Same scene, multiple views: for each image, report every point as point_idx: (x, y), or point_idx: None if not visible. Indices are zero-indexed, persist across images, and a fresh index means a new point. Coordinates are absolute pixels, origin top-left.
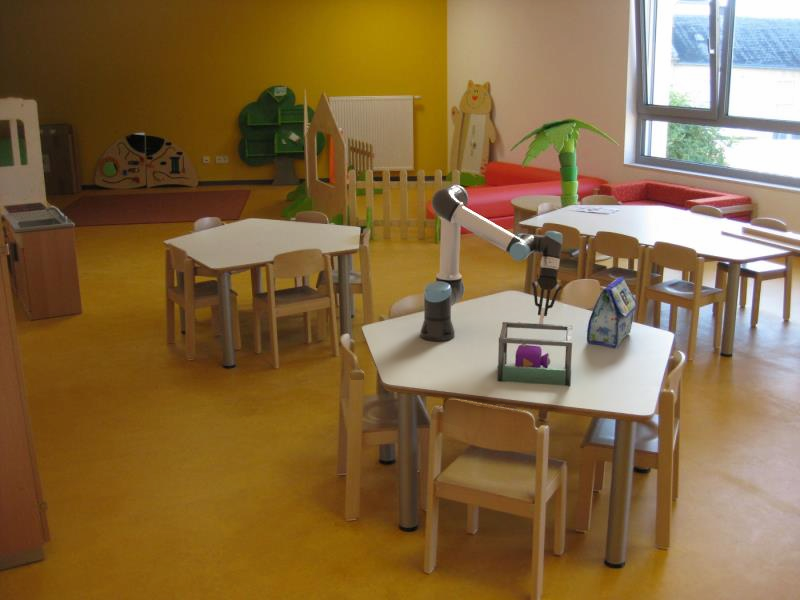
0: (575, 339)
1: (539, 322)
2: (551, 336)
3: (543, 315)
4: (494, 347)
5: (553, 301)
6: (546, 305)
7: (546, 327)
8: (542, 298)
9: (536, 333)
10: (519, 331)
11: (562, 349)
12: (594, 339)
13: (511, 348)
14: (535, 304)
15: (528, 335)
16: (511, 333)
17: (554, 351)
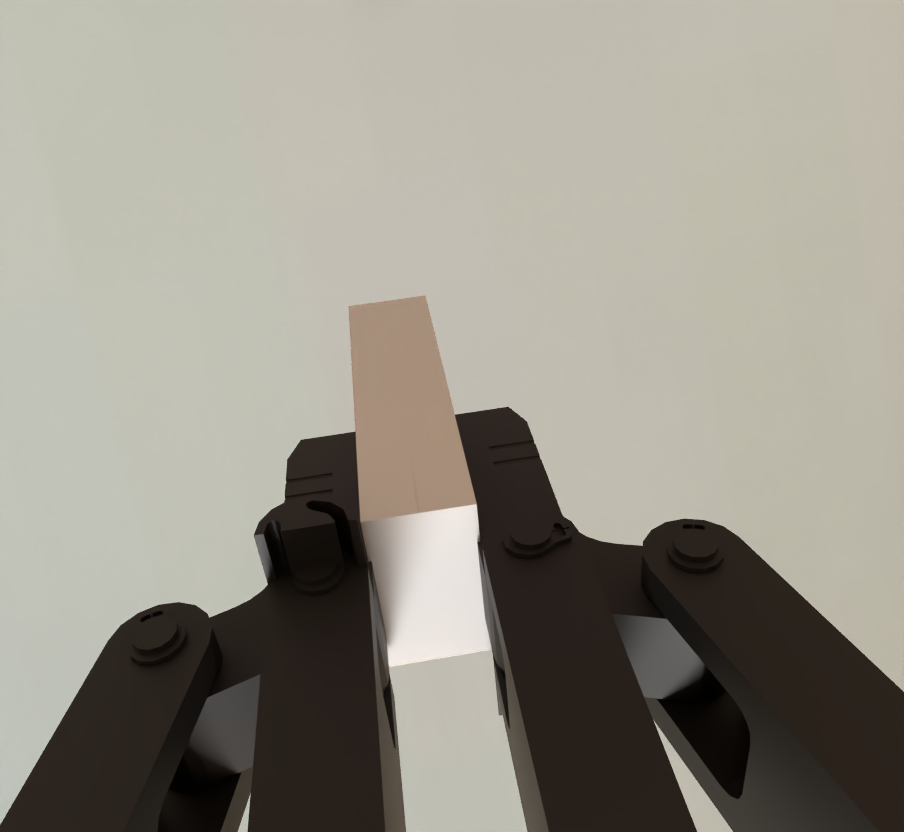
0: (5, 813)
1: (421, 302)
2: None
3: (365, 399)
4: (871, 178)
5: (45, 828)
6: (329, 609)
7: None
8: (565, 790)
9: (509, 815)
10: (698, 798)
11: (66, 390)
12: None
13: (685, 208)
14: (711, 530)
15: None
16: None
17: (149, 277)
